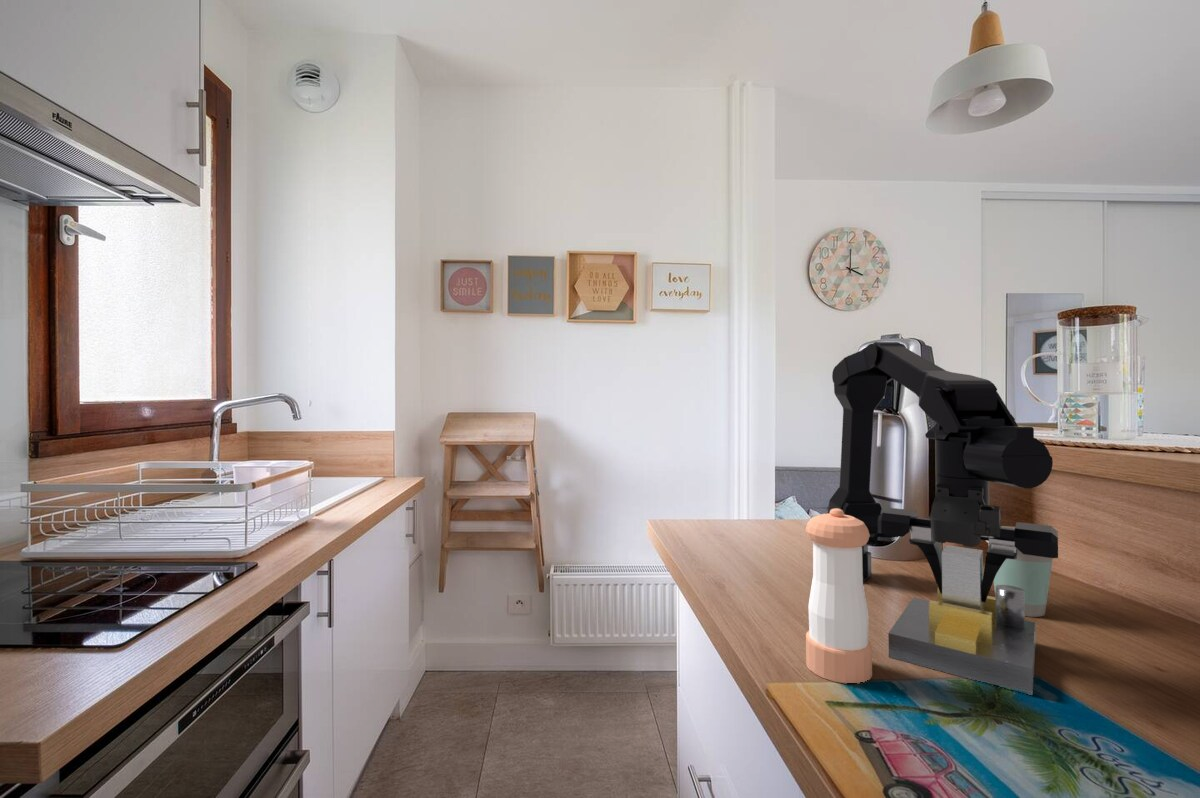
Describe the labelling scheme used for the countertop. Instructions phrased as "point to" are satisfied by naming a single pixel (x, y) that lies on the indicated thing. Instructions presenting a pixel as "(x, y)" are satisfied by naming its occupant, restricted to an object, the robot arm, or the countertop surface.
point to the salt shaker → (838, 600)
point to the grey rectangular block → (962, 577)
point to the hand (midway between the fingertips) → (962, 597)
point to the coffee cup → (1027, 579)
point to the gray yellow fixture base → (970, 639)
